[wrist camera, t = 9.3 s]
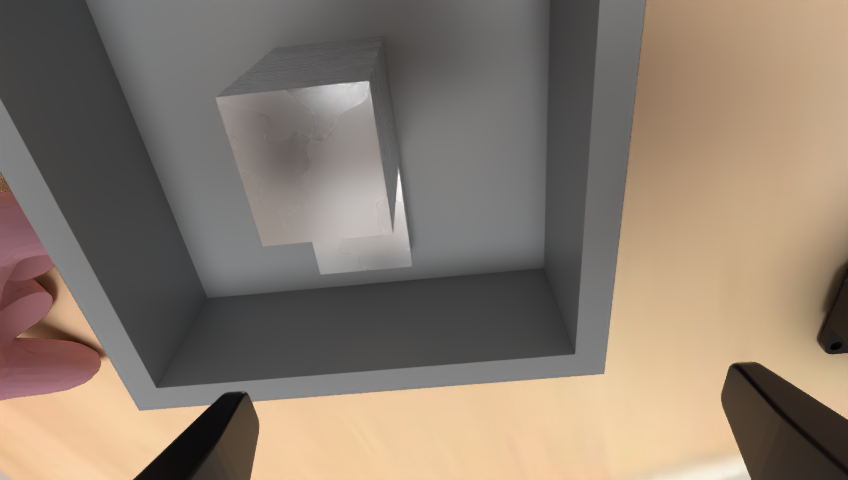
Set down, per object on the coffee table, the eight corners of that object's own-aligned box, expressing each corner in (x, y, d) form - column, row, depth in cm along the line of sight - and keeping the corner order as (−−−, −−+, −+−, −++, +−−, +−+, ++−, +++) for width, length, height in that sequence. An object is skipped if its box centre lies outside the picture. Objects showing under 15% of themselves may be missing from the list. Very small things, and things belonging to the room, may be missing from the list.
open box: (585, -169, 14) (670, -217, 9) (564, 277, 22) (603, 374, 17) (23, -97, 15) (-163, -107, 10) (197, 309, 23) (139, 410, 18)
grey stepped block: (383, 35, 16) (368, 80, 11) (412, 249, 20) (410, 346, 16) (273, 47, 16) (215, 97, 12) (325, 257, 20) (297, 355, 16)
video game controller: (82, 148, 20) (-163, 179, 14) (164, 218, 20) (-57, 282, 13) (42, 316, 25) (-159, 396, 19) (107, 378, 24) (-78, 481, 18)
